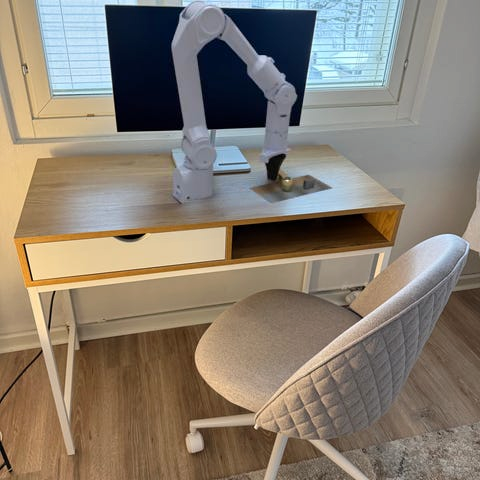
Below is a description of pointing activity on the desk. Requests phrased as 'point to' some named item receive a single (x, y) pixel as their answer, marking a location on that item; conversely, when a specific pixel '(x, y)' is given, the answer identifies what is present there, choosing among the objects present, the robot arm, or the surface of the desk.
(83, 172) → the desk surface
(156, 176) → the desk surface
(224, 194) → the desk surface
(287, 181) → the lock bar
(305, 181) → the block
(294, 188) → the board
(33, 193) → the desk surface
